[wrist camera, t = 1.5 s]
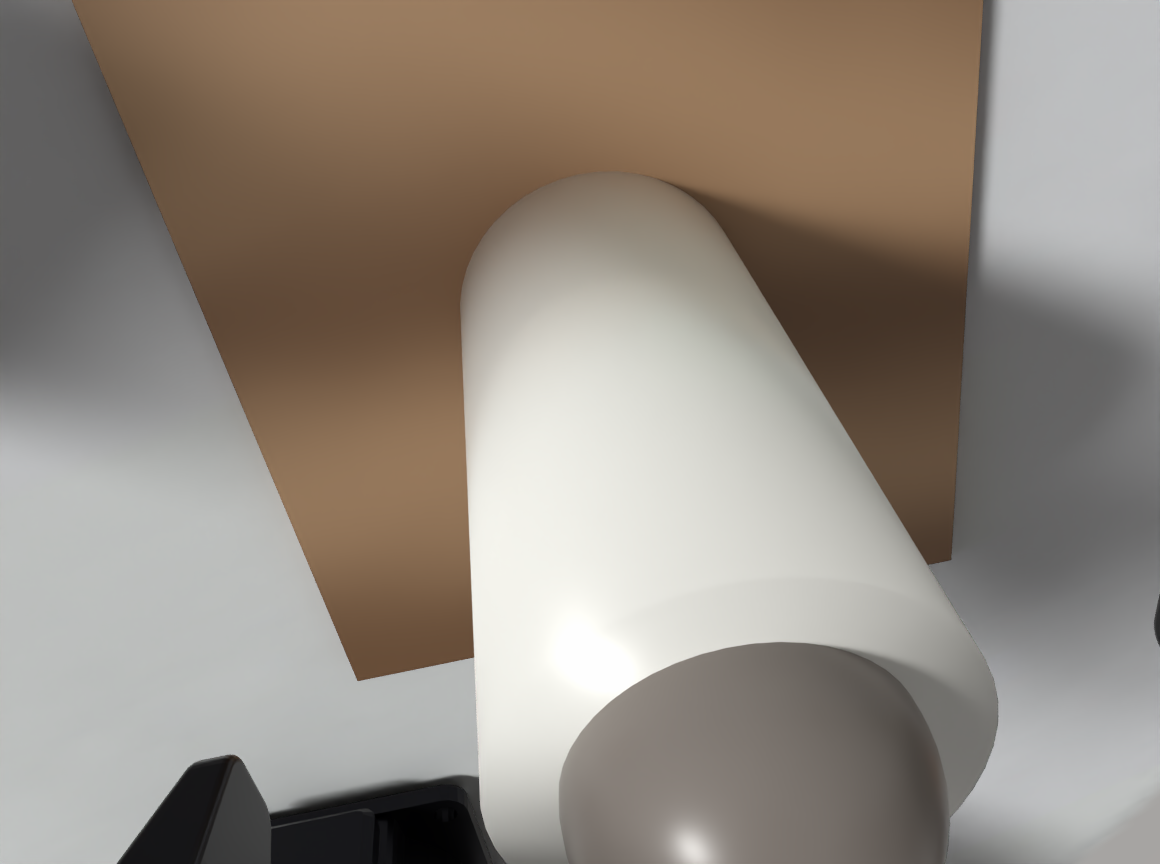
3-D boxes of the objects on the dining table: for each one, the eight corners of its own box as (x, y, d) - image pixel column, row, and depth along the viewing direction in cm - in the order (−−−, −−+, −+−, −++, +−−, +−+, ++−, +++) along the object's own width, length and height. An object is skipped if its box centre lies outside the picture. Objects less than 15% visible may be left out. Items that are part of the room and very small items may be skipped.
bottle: (749, 398, 17) (1078, 1066, 9) (493, 450, 17) (551, 1177, 8) (729, 143, 15) (1162, 713, 6) (429, 204, 15) (416, 867, 6)
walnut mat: (942, 547, 20) (950, 560, 20) (358, 666, 20) (357, 680, 20) (985, -297, 13) (1000, -298, 12) (38, -108, 13) (27, -104, 12)
